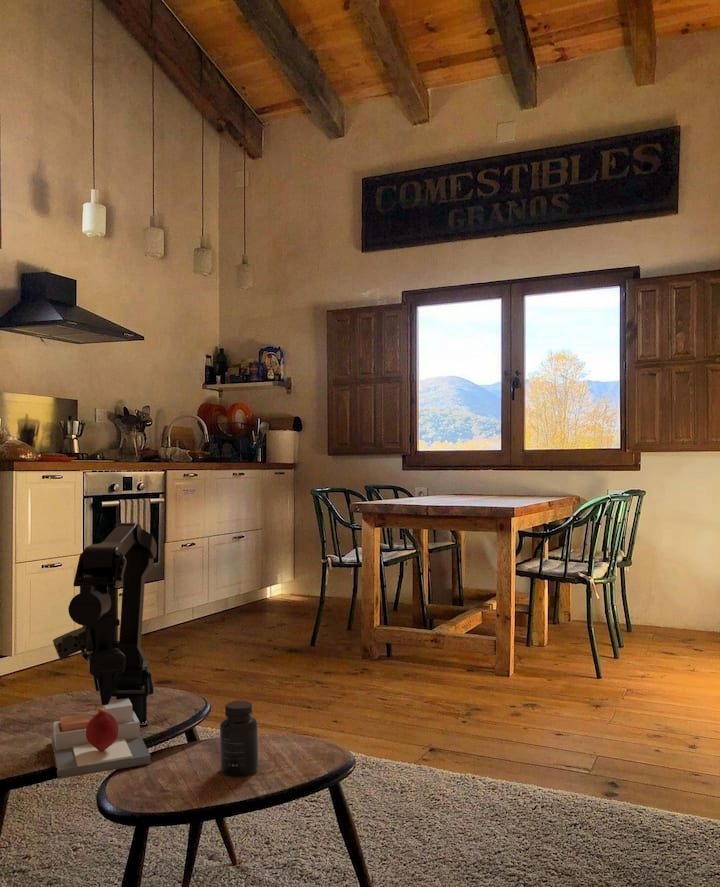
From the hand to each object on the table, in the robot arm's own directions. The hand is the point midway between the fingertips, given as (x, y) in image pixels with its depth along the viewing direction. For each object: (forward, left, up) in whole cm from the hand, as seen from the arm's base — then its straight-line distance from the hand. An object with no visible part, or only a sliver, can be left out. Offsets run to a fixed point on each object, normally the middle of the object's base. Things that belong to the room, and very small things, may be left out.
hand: (101, 697), depth 146 cm
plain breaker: (-4, -9, -8) cm, 13 cm away
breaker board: (0, -5, -12) cm, 13 cm away
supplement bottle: (-22, +15, -12) cm, 29 cm away
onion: (0, 0, -10) cm, 10 cm away
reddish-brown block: (+4, -9, -10) cm, 14 cm away
